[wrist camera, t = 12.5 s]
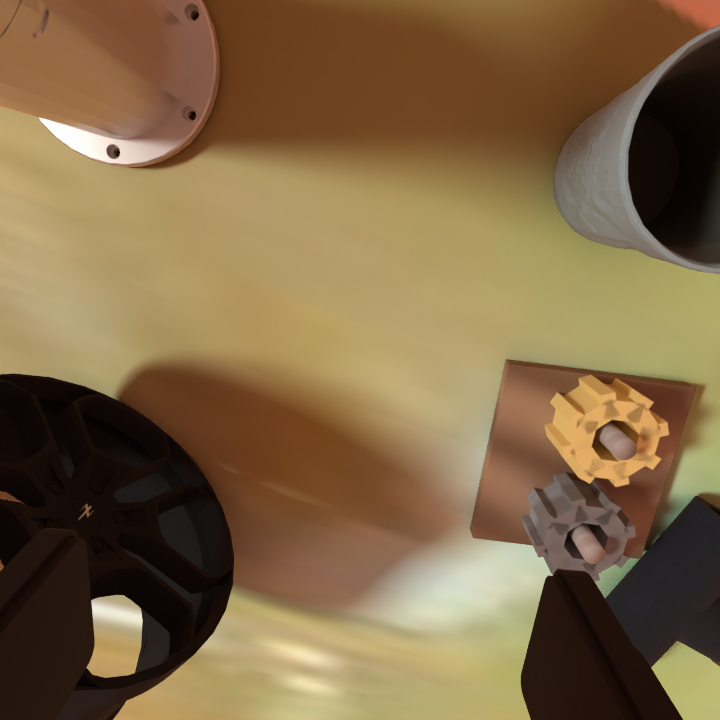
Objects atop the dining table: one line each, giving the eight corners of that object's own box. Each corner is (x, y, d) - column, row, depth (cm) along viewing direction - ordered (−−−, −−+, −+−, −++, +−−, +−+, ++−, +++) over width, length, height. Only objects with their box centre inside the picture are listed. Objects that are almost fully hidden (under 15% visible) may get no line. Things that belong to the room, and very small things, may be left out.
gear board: (505, 359, 36) (531, 387, 30) (685, 382, 36) (747, 414, 30) (470, 528, 40) (486, 583, 34) (632, 549, 40) (678, 607, 34)
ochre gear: (557, 370, 35) (577, 387, 31) (649, 382, 35) (680, 400, 31) (537, 454, 36) (554, 479, 33) (625, 465, 36) (651, 491, 33)
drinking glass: (691, 246, 33) (858, 261, 22) (537, 264, 34) (620, 287, 22) (701, 77, 31) (897, -8, 19) (533, 100, 31) (625, 31, 20)
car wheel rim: (262, 514, 40) (156, 789, 21) (182, 588, 42) (19, 899, 23) (58, 341, 37) (-297, 477, 17) (-17, 431, 39) (-407, 641, 19)
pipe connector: (858, 602, 35) (711, 741, 38) (797, 554, 40) (673, 680, 43) (726, 525, 34) (588, 675, 37) (680, 485, 39) (563, 621, 42)
